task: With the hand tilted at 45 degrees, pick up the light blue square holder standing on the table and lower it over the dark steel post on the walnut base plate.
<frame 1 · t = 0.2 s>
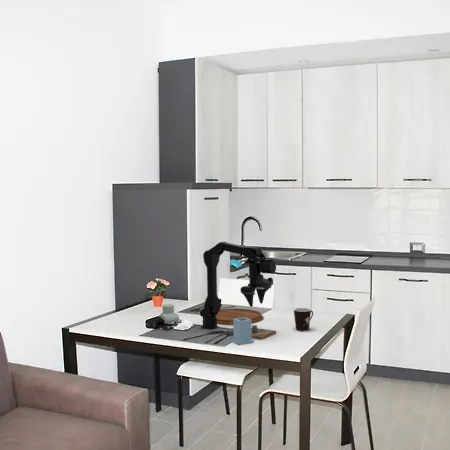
hand: (256, 305, 295), 14 cm above the table, tool pointing down, fingers open, 9 cm apart
coffee mug: (305, 329, 305), on the table
light blue square holder: (242, 341, 283), on the table
cutting board: (234, 319, 332), on the table
air freshener: (168, 324, 321), on the table
locating plate: (254, 334, 297), on the table
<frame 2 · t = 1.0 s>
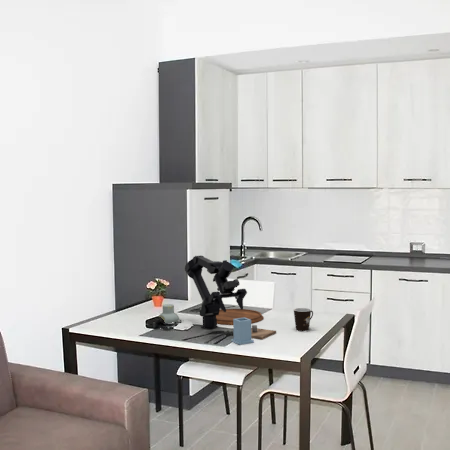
hand: (234, 310, 289), 13 cm above the table, tool tilted 45°, fingers open, 9 cm apart
nothing on the table moved.
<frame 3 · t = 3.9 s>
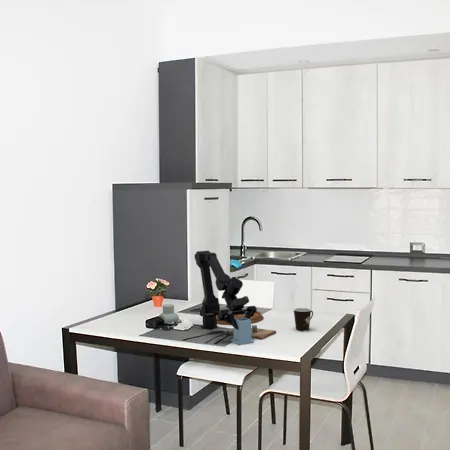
hand: (243, 328, 281), 7 cm above the table, tool tilted 45°, fingers closed on light blue square holder, 6 cm apart
light blue square holder: (242, 341, 283), on the table, touching gripper
everything else where it was.
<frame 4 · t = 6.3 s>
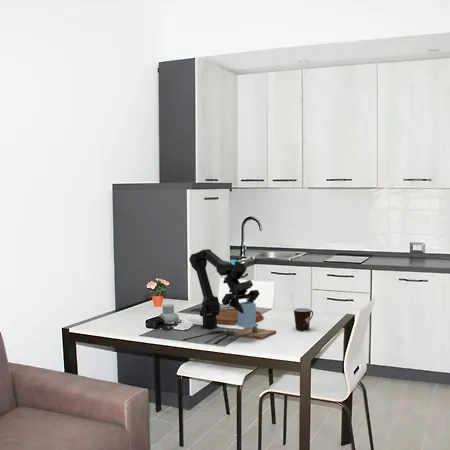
hand: (248, 312, 284), 13 cm above the table, tool tilted 45°, fingers closed on light blue square holder, 6 cm apart
light blue square holder: (246, 325, 286), point 7 cm above the table, touching gripper
everything else where it was.
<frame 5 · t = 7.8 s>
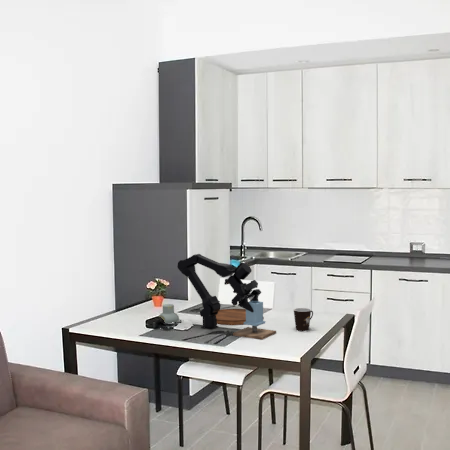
hand: (256, 310, 295), 12 cm above the table, tool tilted 45°, fingers closed on light blue square holder, 6 cm apart
light blue square holder: (254, 323, 297), point 5 cm above the table, touching gripper
everything else where it was.
when the fingers open (8 cm above the table, at t = 8.9 s): light blue square holder stays where it is, resting on locating plate.
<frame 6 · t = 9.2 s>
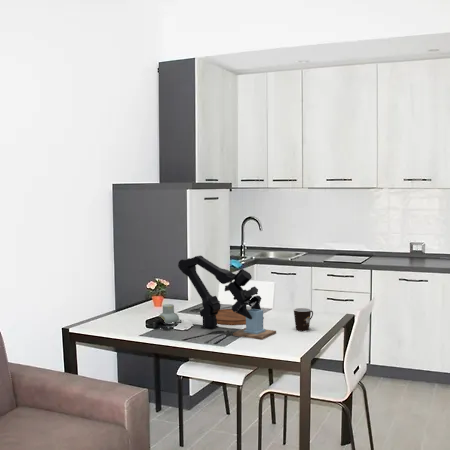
hand: (257, 317, 295), 9 cm above the table, tool tilted 45°, fingers open, 9 cm apart
light blue square holder: (254, 331, 297), point 1 cm above the table, touching locating plate
everything else where it was.
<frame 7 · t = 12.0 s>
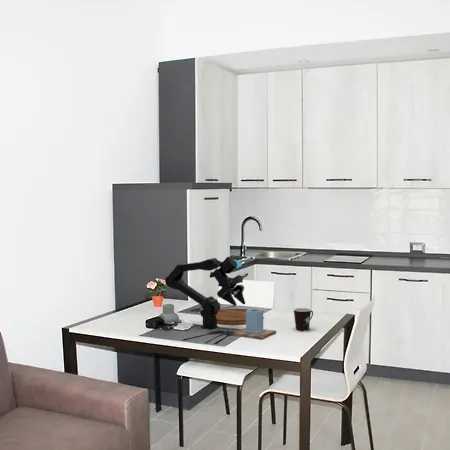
hand: (240, 304, 301), 13 cm above the table, tool tilted 40°, fingers open, 9 cm apart
nothing on the table moved.
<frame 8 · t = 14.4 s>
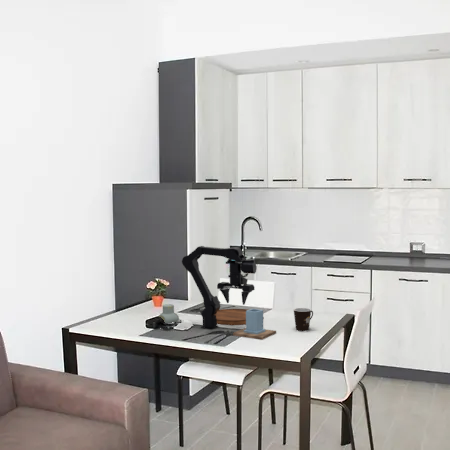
hand: (235, 303, 306), 13 cm above the table, tool pointing down, fingers open, 9 cm apart
nothing on the table moved.
at the end: light blue square holder 0.0 cm from the locating plate (horizontally); light blue square holder point 1.2 cm above the table; light blue square holder tilted 0° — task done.
